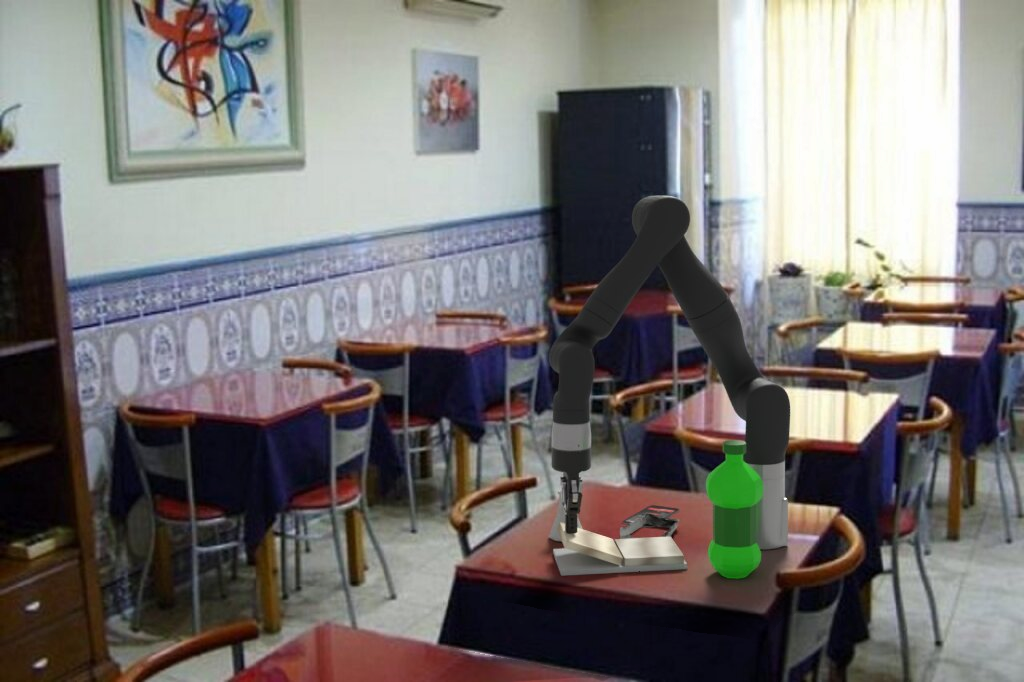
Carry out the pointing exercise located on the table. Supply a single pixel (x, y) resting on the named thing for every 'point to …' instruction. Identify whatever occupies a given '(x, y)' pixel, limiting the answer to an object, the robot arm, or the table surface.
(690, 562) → the table surface
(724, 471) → the plastic bottle
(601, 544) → the cream wavy square sheet
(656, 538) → the laid plank
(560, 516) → the flask
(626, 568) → the underlay board
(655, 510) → the smartphone
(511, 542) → the table surface
